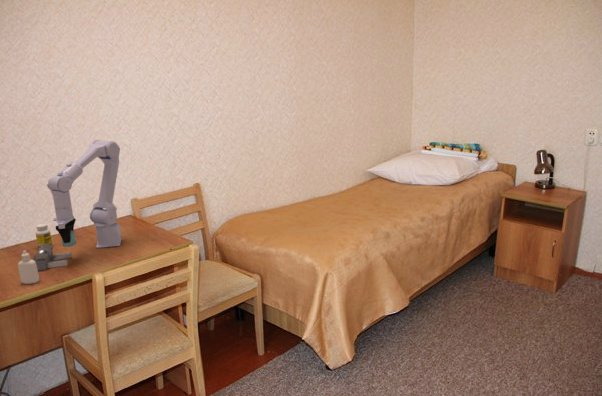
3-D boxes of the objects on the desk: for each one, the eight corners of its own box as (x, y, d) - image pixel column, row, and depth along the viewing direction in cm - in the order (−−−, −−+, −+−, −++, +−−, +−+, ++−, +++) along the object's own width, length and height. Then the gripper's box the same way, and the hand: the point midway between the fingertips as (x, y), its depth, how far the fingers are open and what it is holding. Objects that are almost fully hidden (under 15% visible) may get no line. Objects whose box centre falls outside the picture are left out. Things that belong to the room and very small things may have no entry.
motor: (72, 255, 188) (70, 240, 186) (66, 267, 177) (63, 252, 175) (43, 258, 185) (40, 243, 183) (34, 271, 174) (31, 255, 172)
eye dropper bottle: (31, 277, 169) (25, 247, 166) (41, 280, 167) (35, 249, 163) (19, 282, 165) (13, 251, 162) (29, 286, 163) (23, 254, 159)
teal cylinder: (77, 241, 184) (75, 228, 183) (75, 245, 180) (73, 232, 178) (63, 242, 183) (61, 229, 181) (61, 247, 178) (59, 233, 177)
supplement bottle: (46, 249, 194) (42, 227, 191) (35, 249, 195) (31, 227, 192) (55, 244, 199) (51, 223, 196) (44, 244, 200) (40, 222, 197)
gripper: (55, 202, 183) (61, 234, 186) (47, 213, 169) (52, 248, 173) (75, 200, 184) (80, 232, 188) (68, 211, 171) (73, 246, 175)
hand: (68, 240), depth 181 cm, fingers closed on teal cylinder, 5 cm apart
